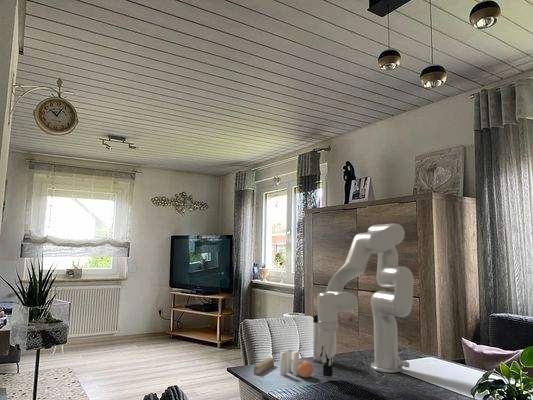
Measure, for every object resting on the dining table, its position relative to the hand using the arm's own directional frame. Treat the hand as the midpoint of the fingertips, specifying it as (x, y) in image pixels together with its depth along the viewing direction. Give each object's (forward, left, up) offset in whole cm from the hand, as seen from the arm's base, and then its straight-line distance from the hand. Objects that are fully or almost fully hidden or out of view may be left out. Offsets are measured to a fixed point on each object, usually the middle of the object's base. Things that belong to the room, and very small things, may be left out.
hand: (328, 375), depth 149 cm
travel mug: (+11, -24, -2) cm, 27 cm away
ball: (+9, +1, +1) cm, 9 cm away
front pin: (+13, 0, -2) cm, 13 cm away
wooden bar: (+27, 0, -2) cm, 27 cm away
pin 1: (+17, +2, -2) cm, 18 cm away
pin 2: (+17, -3, -2) cm, 18 cm away
